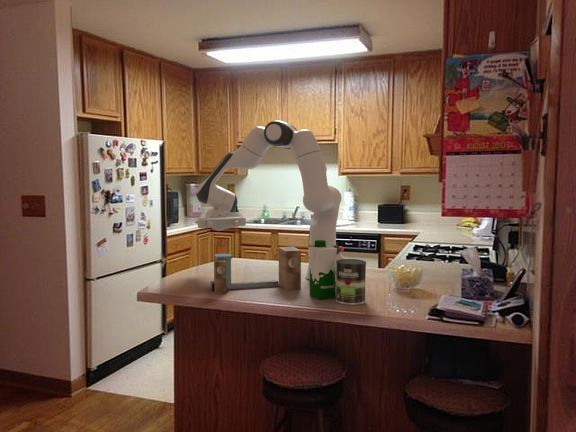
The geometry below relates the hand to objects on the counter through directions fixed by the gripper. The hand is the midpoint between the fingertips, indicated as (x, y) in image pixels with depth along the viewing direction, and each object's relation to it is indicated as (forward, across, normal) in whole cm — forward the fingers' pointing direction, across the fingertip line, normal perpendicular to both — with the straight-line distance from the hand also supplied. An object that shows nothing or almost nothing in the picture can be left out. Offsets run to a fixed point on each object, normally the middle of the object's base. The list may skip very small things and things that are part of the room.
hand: (224, 224), depth 199 cm
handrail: (+13, +5, +23) cm, 28 cm away
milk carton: (+35, +29, +24) cm, 51 cm away
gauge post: (+18, -6, +23) cm, 30 cm away
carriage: (+13, -3, +21) cm, 25 cm away
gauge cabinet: (+17, +22, +24) cm, 36 cm away
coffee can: (+44, +36, +24) cm, 61 cm away
